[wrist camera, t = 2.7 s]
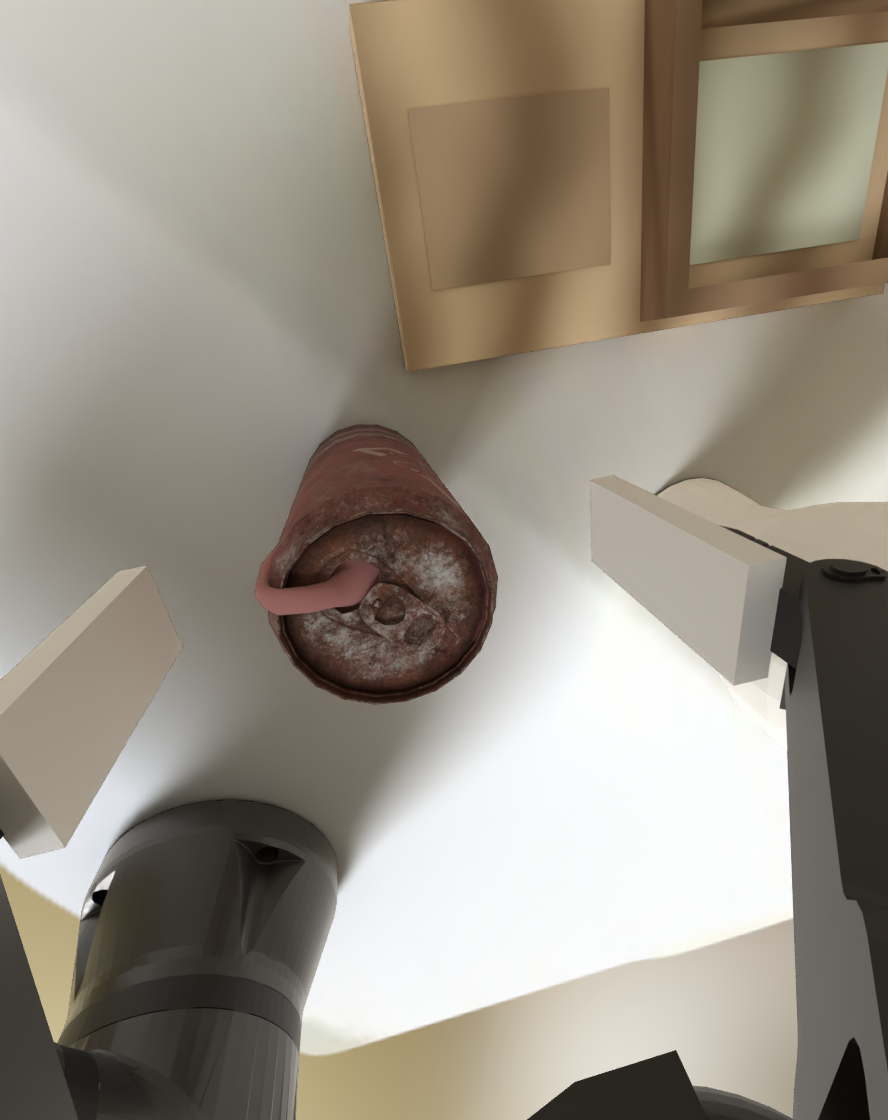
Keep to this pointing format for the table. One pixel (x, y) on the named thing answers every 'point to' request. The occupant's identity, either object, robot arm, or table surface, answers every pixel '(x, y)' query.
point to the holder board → (620, 164)
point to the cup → (806, 533)
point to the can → (377, 573)
